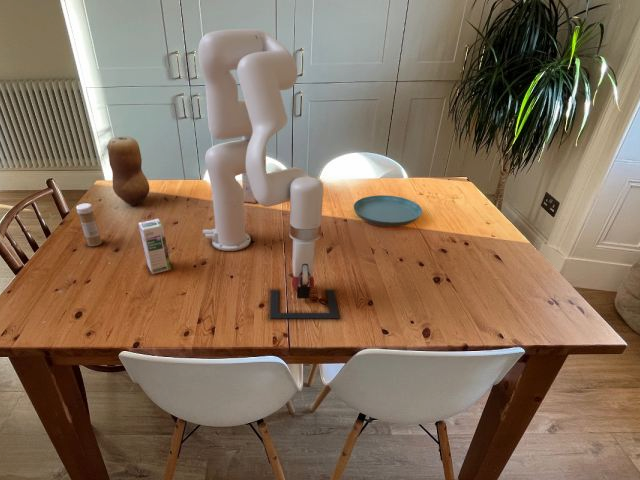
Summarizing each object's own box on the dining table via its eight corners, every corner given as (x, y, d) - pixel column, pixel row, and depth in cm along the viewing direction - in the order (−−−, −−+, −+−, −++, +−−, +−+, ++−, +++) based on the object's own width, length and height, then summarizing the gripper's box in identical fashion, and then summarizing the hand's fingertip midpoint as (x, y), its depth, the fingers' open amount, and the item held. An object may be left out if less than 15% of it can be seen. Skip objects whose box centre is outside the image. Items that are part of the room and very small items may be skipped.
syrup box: (152, 275, 118) (142, 229, 110) (147, 265, 123) (137, 221, 114) (171, 270, 120) (163, 225, 112) (166, 261, 125) (158, 217, 116)
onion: (312, 301, 107) (313, 275, 102) (290, 299, 108) (291, 273, 103) (314, 288, 112) (315, 263, 107) (293, 286, 112) (293, 262, 108)
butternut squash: (158, 202, 162) (146, 137, 148) (128, 212, 154) (113, 145, 140) (138, 193, 170) (125, 131, 156) (109, 203, 162) (93, 138, 148)
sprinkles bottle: (101, 239, 137) (91, 201, 129) (102, 245, 133) (91, 207, 125) (87, 242, 135) (75, 203, 128) (87, 248, 132) (75, 209, 124)
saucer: (389, 198, 163) (391, 190, 161) (435, 221, 145) (437, 213, 143) (339, 210, 154) (340, 202, 152) (381, 236, 136) (383, 227, 134)
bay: (270, 318, 101) (270, 318, 101) (271, 291, 111) (271, 290, 111) (339, 319, 101) (339, 318, 101) (333, 291, 111) (333, 290, 111)
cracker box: (257, 203, 160) (255, 149, 148) (242, 202, 161) (239, 148, 149) (267, 191, 171) (266, 139, 159) (253, 189, 172) (251, 138, 160)
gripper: (288, 214, 106) (287, 273, 116) (290, 247, 92) (289, 310, 102) (317, 214, 106) (314, 273, 116) (323, 247, 92) (319, 310, 102)
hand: (302, 289), depth 109 cm, fingers closed on onion, 5 cm apart
